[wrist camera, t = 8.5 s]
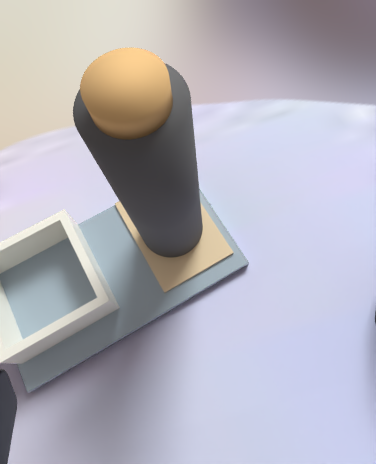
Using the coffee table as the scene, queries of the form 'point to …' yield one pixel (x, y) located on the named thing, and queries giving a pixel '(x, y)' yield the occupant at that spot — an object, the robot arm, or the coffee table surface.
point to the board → (95, 286)
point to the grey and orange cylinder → (144, 144)
